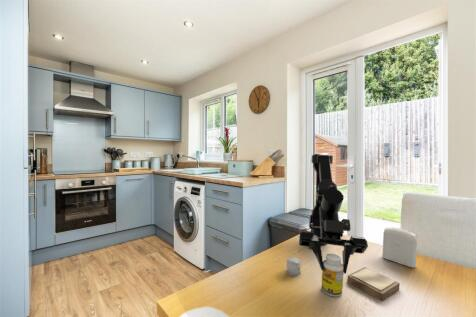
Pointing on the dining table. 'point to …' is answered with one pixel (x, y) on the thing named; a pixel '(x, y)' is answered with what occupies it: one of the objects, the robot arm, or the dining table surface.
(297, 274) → the white rounded knob
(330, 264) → the supplement bottle
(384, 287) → the tan flat square block
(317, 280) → the dining table surface
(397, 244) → the photo printer
